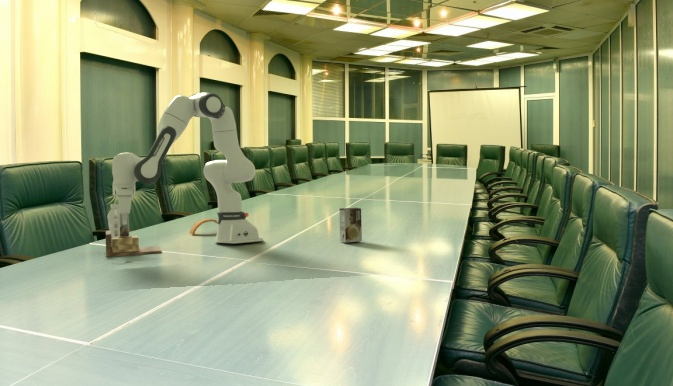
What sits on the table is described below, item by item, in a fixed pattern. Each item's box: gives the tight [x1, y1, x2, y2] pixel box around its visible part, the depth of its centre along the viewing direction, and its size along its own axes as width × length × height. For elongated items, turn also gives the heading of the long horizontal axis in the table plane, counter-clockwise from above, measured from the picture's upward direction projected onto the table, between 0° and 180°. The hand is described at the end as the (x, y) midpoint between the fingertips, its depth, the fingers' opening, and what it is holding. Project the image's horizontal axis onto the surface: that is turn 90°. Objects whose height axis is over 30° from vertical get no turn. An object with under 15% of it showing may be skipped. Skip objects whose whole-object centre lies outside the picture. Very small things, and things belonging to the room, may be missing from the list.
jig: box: [105, 230, 162, 258], centre depth 208 cm, size 21×16×9 cm
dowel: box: [119, 210, 130, 237], centre depth 206 cm, size 4×4×12 cm
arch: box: [189, 218, 218, 236], centre depth 258 cm, size 6×20×10 cm, turn 122°
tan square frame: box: [112, 235, 140, 253], centre depth 207 cm, size 10×10×6 cm
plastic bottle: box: [106, 203, 120, 239], centre depth 222 cm, size 6×7×20 cm
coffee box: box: [339, 207, 363, 244], centre depth 238 cm, size 9×6×16 cm
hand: (124, 224), depth 206 cm, fingers closed on dowel, 4 cm apart
